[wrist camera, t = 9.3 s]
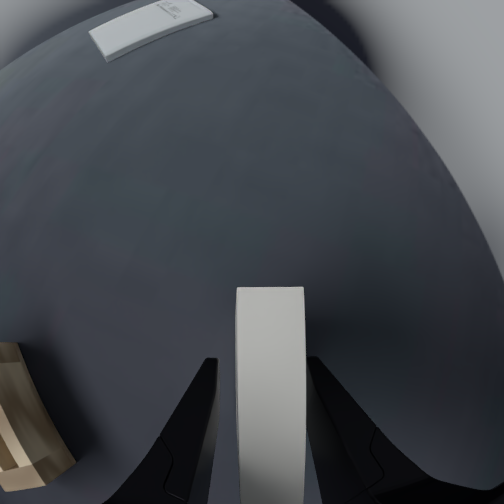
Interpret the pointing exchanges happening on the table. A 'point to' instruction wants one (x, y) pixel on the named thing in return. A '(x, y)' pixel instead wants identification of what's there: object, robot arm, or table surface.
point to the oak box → (26, 429)
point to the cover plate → (270, 394)
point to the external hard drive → (147, 26)
